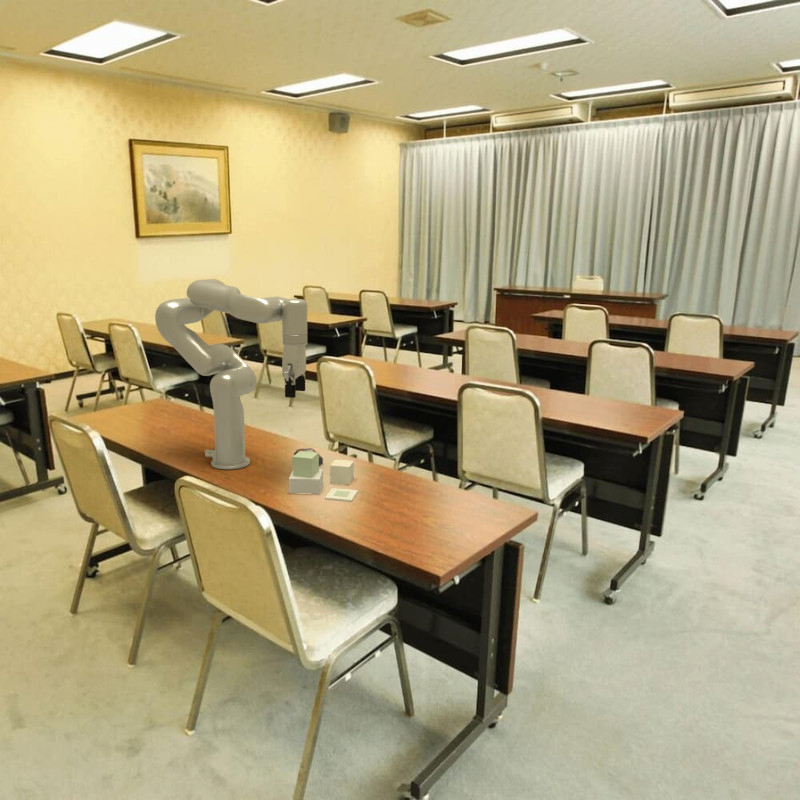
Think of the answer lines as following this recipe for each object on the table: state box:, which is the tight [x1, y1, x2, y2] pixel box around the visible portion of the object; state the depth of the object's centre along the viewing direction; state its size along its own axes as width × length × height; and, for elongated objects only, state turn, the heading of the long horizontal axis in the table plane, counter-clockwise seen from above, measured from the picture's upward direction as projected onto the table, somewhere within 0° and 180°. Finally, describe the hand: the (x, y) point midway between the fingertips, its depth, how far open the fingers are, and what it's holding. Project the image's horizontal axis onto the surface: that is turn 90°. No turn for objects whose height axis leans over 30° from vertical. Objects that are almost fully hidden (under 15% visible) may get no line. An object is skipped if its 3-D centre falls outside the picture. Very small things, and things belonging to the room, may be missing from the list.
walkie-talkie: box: [293, 447, 324, 466], centre depth 220 cm, size 9×4×20 cm
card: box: [324, 487, 359, 502], centre depth 193 cm, size 8×8×1 cm
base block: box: [288, 468, 324, 495], centre depth 198 cm, size 9×9×5 cm
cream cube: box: [329, 459, 355, 485], centre depth 205 cm, size 6×6×6 cm
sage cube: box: [292, 451, 320, 478], centre depth 197 cm, size 6×6×6 cm
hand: (295, 394), depth 205 cm, fingers open, 9 cm apart
